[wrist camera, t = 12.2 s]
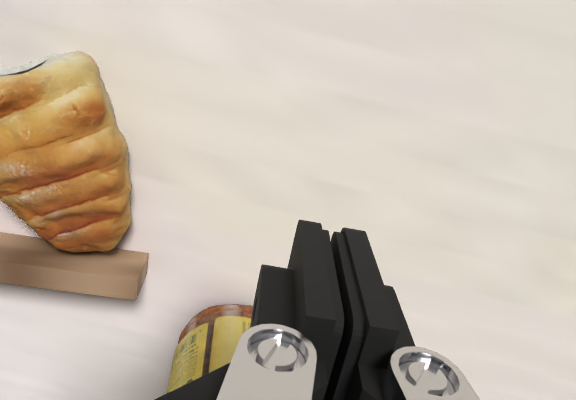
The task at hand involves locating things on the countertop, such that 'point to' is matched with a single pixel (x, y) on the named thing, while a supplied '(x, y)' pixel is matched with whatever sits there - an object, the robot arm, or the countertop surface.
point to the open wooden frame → (71, 268)
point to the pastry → (63, 153)
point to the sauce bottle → (208, 342)
